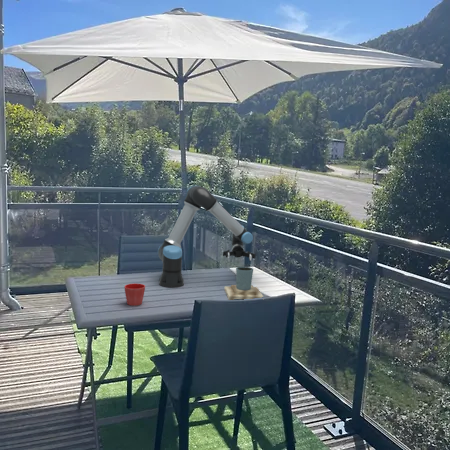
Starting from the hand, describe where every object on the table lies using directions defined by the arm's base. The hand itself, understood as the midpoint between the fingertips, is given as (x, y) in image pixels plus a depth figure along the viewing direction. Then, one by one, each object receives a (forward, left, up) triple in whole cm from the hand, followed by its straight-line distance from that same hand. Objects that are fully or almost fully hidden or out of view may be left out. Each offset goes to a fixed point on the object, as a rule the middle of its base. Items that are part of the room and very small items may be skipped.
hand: (239, 257), depth 274 cm
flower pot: (-61, -30, -20) cm, 71 cm away
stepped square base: (+1, -12, -20) cm, 23 cm away
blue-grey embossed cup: (+1, -12, -16) cm, 20 cm away
